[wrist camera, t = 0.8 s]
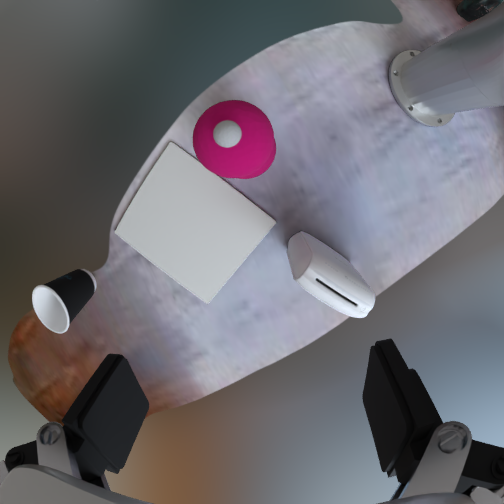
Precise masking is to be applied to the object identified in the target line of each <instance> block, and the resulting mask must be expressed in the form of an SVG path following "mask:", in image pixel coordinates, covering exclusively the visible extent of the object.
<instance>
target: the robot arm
mask: <svg viewBox="0 0 504 504" xmlns="http://www.w3.org/2000/svg"><path fill="white" fill-rule="evenodd" d="M389 82H390V87H391V90H392V93H393V95H394V97H395V99H396V101H397V102H398V104H399V105H400V107H401V108H402V109H403V110H404V111H405V113H406V114H407V115H408V116H410V117H411V118H412V119H413V120H415V121H416V122H418V123H420V124H422V125H425V126H429V127H438V126H443V125H445V124H447V123H448V122H449V121H450V120H451V119H452V118H453V116H454V114H455V113H457V112H463V111H469V110H475V109H482V108H489V107H497V106H504V2H502V3H501V4H500V5H499V6H498V7H496V8H495V9H493V10H492V11H491V12H489V13H488V14H486V15H485V16H483V17H481V18H479V19H478V20H476V21H474V22H473V23H471V24H469V25H467V26H465V27H464V28H462V29H460V30H458V31H456V32H455V33H453V34H451V35H449V36H447V37H446V38H444V39H442V40H441V41H439V42H437V43H435V44H434V45H432V46H430V47H429V48H427V49H426V50H424V51H422V52H421V51H418V50H406V51H403V52H401V53H400V54H398V55H397V56H396V57H395V58H394V59H393V60H392V62H391V64H390V68H389ZM408 108H409V109H408ZM363 403H364V407H365V410H366V414H367V417H368V421H369V424H370V427H371V431H372V434H373V438H374V442H375V446H376V450H377V454H378V457H379V461H380V465H381V469H382V471H383V472H387V474H388V477H392V476H396V475H397V479H398V482H400V484H399V486H398V487H397V489H396V491H395V492H394V494H393V496H392V497H391V499H390V500H389V501H387V502H383V503H378V504H504V448H502V447H498V446H494V445H490V444H486V443H482V442H479V441H475V440H472V436H471V432H470V430H469V428H468V427H467V426H466V425H464V424H463V423H460V422H456V421H450V422H445V423H443V422H442V420H441V418H440V416H439V414H438V412H437V410H436V408H435V406H434V404H433V402H432V400H431V398H430V396H429V394H428V392H427V390H426V388H425V387H424V385H423V383H422V381H421V379H420V377H419V375H418V374H417V372H416V371H415V370H414V369H408V367H407V365H406V363H405V361H404V359H403V358H402V356H401V354H400V352H399V351H398V349H397V347H396V345H395V344H394V342H393V340H392V339H386V340H381V341H377V342H376V343H375V346H371V349H370V355H369V362H368V368H367V374H366V380H365V385H364V390H363ZM148 409H149V402H148V400H147V398H146V396H145V394H144V392H143V391H142V389H141V387H140V385H139V383H138V381H137V379H136V377H135V375H134V373H133V371H132V369H131V367H130V365H129V363H128V361H127V359H125V358H124V356H123V355H120V354H108V355H107V356H106V358H105V359H104V360H103V362H102V363H101V364H100V366H99V367H98V369H97V370H96V371H95V373H94V374H93V376H92V377H91V378H90V380H89V381H88V383H87V384H86V385H85V387H84V388H83V390H82V391H81V393H80V394H79V395H78V397H77V398H76V400H75V401H74V403H73V404H72V406H71V407H70V409H69V410H68V412H67V413H66V415H65V416H64V418H63V419H62V422H63V423H64V426H63V427H62V426H61V424H59V423H57V422H49V423H47V424H45V425H43V426H42V427H41V428H40V429H39V431H38V433H37V438H36V440H35V441H33V442H30V443H27V444H23V445H20V446H17V447H14V448H12V449H11V450H9V452H8V453H7V455H6V458H5V461H4V460H3V461H1V462H0V504H153V503H149V502H145V501H141V500H138V499H134V498H131V497H127V496H124V495H121V494H118V493H115V492H112V491H111V490H110V487H109V485H108V482H107V480H106V477H105V474H104V471H105V469H106V470H107V471H110V472H113V473H116V474H118V473H119V471H120V469H122V468H123V467H124V465H125V463H126V460H127V458H128V456H129V453H130V451H131V449H132V446H133V443H134V442H135V439H136V437H137V435H138V432H139V430H140V428H141V425H142V423H143V421H144V419H145V416H146V414H147V412H148Z"/></svg>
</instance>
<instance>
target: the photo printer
mask: <svg viewBox="0 0 504 504" xmlns="http://www.w3.org/2000/svg"><path fill="white" fill-rule="evenodd" d="M287 256H288V259H289V263H290V266H291V270H292V274H293V278H294V280H295V281H296V282H297V283H298V284H299V285H300V286H301V287H302V288H303V289H304V290H306V291H307V292H308V293H310V294H311V295H313V296H314V297H316V298H317V299H319V300H320V301H322V302H323V303H325V304H327V305H328V306H330V307H332V308H333V309H335V310H337V311H339V312H341V313H343V314H345V315H348V316H351V317H356V318H363V317H365V316H367V314H368V312H369V311H370V310H371V309H372V308H373V306H374V303H375V294H374V292H373V290H372V289H371V288H370V286H369V285H368V284H367V283H366V281H365V280H364V279H363V278H362V276H361V275H360V274H359V273H358V271H357V270H356V269H355V268H354V267H353V265H352V264H351V263H350V262H349V261H348V260H347V259H345V258H344V257H343V256H341V255H340V254H339V253H337V252H336V251H334V250H333V249H332V248H330V247H329V246H327V245H326V244H324V243H323V242H321V241H319V240H318V239H316V238H315V237H313V236H311V235H310V234H308V233H305V232H303V231H300V233H296V234H294V235H293V236H292V237H291V238H290V240H289V242H288V250H287Z"/></svg>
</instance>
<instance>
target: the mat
mask: <svg viewBox="0 0 504 504" xmlns="http://www.w3.org/2000/svg"><path fill="white" fill-rule="evenodd" d="M276 223H277V222H276V221H275V220H274V219H273V218H272V217H270V216H269V215H268V214H266V213H265V212H264V211H263V210H261V209H260V208H259V207H258V206H256V205H255V204H254V203H253V202H251V201H250V200H249V199H247V198H246V197H245V196H244V195H242V194H241V193H240V192H238V191H237V190H236V189H235V188H233V187H232V186H231V185H229V184H228V183H227V182H225V181H224V180H223V179H222V178H220V177H219V176H218V175H216V174H214V173H212V172H211V171H209V170H208V169H206V168H205V167H204V166H203V165H202V164H201V163H200V162H199V161H198V160H196V159H195V158H194V157H192V156H191V155H190V154H188V153H187V152H185V151H184V150H183V149H181V148H180V147H179V146H177V145H176V144H174V143H173V142H170V143H169V145H168V146H167V148H166V149H165V151H164V152H163V153H162V155H161V156H160V158H159V159H158V161H157V162H156V164H155V165H154V167H153V168H152V170H151V171H150V173H149V175H148V176H147V178H146V179H145V181H144V182H143V184H142V186H141V187H140V189H139V190H138V192H137V194H136V195H135V197H134V199H133V200H132V202H131V204H130V206H129V207H128V209H127V211H126V212H125V214H124V216H123V218H122V220H121V221H120V223H119V225H118V227H117V229H116V231H115V233H116V234H117V235H118V236H119V237H121V238H122V239H123V240H124V241H125V242H127V243H128V244H129V245H130V246H131V247H133V248H134V249H135V250H136V251H138V252H139V253H140V254H141V255H143V256H144V257H145V258H146V259H148V260H149V261H150V262H151V263H153V264H154V265H155V266H157V267H158V268H159V269H160V270H162V271H163V272H164V273H166V274H167V275H168V276H170V277H171V278H172V279H174V280H175V281H176V282H177V283H179V284H180V285H182V286H183V287H184V288H186V289H187V290H188V291H190V292H191V293H192V294H194V295H195V296H196V297H198V298H199V299H201V300H202V301H203V302H205V303H206V304H208V303H209V302H210V301H211V300H212V299H213V298H214V296H215V295H216V294H217V293H218V292H219V290H220V289H221V288H222V287H223V286H224V284H225V283H226V282H227V281H228V280H229V278H230V277H231V276H232V275H233V274H234V273H235V271H236V270H237V269H238V268H239V267H240V265H241V264H242V263H243V262H244V261H245V259H246V258H247V257H248V256H249V255H250V253H251V252H252V251H253V250H254V249H255V248H256V246H257V245H258V244H259V243H260V242H261V240H262V239H263V238H264V237H265V236H266V234H267V233H268V232H269V231H270V230H271V228H272V227H273V226H274V225H275V224H276Z"/></svg>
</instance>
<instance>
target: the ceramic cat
mask: <svg viewBox="0 0 504 504" xmlns="http://www.w3.org/2000/svg"><path fill="white" fill-rule="evenodd" d="M502 1H503V0H463V1H462V2H461V3H460V4H459V5H458V7H457V12H458V14H459V15H460V16H461V17H463V18H464V19H465V20H467V21H468V22H469V21H472V20H475V19H478V18H480V17H483V16H485V15H486V14H488V13H489V12H491V11H492V10H493V9H495V8H496V7H497V6H499V5H500V4H501V3H502Z"/></svg>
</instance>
